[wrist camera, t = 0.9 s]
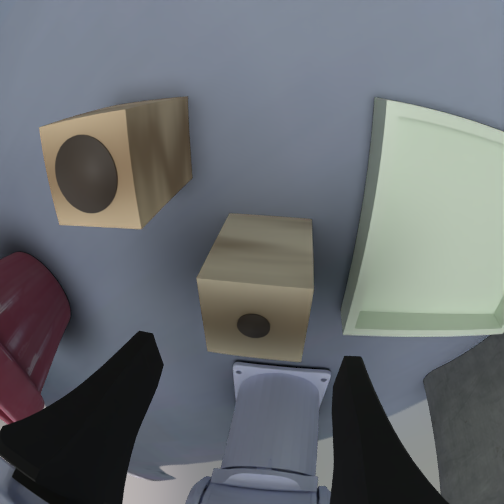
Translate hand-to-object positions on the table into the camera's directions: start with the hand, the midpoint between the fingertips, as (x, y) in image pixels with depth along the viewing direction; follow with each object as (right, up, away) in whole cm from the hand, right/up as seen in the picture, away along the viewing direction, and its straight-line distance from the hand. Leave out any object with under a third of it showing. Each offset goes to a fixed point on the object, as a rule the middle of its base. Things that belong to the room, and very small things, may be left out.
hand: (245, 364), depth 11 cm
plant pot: (-21, +1, +13) cm, 25 cm away
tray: (+13, +5, +4) cm, 14 cm away
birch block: (+1, +4, +7) cm, 8 cm away
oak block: (-5, +10, +4) cm, 12 cm away
